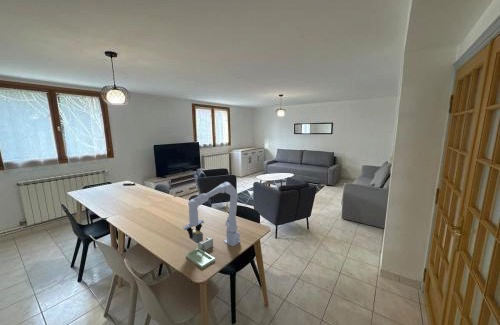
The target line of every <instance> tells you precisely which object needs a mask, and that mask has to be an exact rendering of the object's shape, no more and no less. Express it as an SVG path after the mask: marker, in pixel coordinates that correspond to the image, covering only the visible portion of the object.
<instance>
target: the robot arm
mask: <svg viewBox="0 0 500 325" xmlns="http://www.w3.org/2000/svg"><path fill="white" fill-rule="evenodd" d="M220 193H221V194H227V195H229V196H230V198H229V207H228V208H229V209H228V217H227V218H226V221H225V226H226V230H225V231H226V239H224V241H223V242H224V243H226V244H227V245H230V246H231V247H234V246H236V245H238V244H240V243H241V240H240V236H241V235H240V233H239V231H238V226H237V217H236V216H237V206H238V198H239V197H238V196H239V193H238V191H237V190H236V187H235V186H233V184H232V183H231V182H230V181H229V182H228V181H224V182H223V183H220V184H219V185H217V186H216V187H215V188H212V190H210V191H208V192H206V193H204V192H203V193H200V194H199V195H198V196H195V197H194V198H191V199H190V200H188V202H187V203H188V220H189V222H188V223H187V224H186V225H185V226H183V228H182V229H183V230H184V231H187V233H188V235H189V236H190V238H192V232H193V229H194V227H195V229H197V230H199V231H200V232H201V229H202V227H203V224H204V223H205V221H204V219H199V209H198V208H199V206H201V205H203V204H204V203H206V202H208V201H209V198H212V197H214V196H216V195H217V194H220ZM189 236H188V237H189ZM190 238H189V239H190Z"/></svg>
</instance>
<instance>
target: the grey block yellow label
mask: <svg viewBox="0 0 500 325" xmlns="http://www.w3.org/2000/svg"><path fill="white" fill-rule="evenodd" d="M192 229H193V232H192V238H190V236H188V238H189V239H190V240H191V241H193V242H194V243H196V244H198V243H199V242H204V232H202V231H201V230H200V231H199V230H197V229H196V227H195V228H194V227H193V228H192Z"/></svg>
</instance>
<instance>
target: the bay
mask: <svg viewBox="0 0 500 325" xmlns="http://www.w3.org/2000/svg"><path fill="white" fill-rule="evenodd" d="M197 247H198V248H200V249H202V250H203V251H205V252H206V251H207V250H209V249H210V248H212V247H214V238H213V237H211V238H210V237H208V236H207V237H206V239H205V240H203V241H201V242H199V243H197Z"/></svg>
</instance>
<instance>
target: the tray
mask: <svg viewBox="0 0 500 325" xmlns="http://www.w3.org/2000/svg"><path fill="white" fill-rule="evenodd" d="M185 257H186V258H187V259H188V260H190V261H192V263H194V264H195V265H196V266H198V267H199V268H200V269H204V268H206V267H208V266H209V265H211V264H212V263H214V262H216V258H215V257H214V256H212V255H211V254H209V253H207V252H206V250H205V251H203V250H202V249H200V248H195V249H194V250H192V251H190V252H188V253H186V254H185Z"/></svg>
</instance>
